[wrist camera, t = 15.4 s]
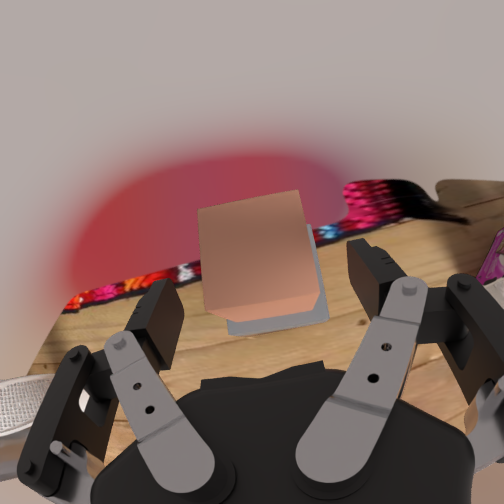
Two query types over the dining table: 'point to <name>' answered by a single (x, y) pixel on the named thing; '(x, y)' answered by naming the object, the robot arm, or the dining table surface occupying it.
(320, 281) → the gray block
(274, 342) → the dining table surface
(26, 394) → the twisted tower model
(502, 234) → the candy bar box
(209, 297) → the salmon orange block
